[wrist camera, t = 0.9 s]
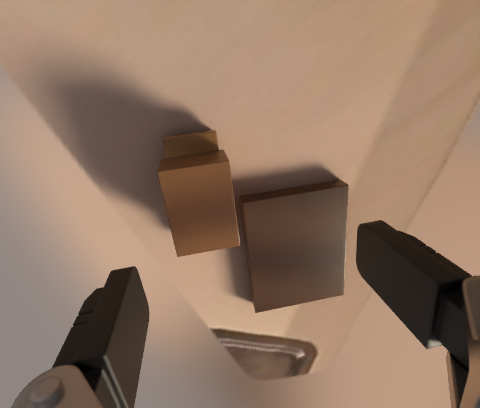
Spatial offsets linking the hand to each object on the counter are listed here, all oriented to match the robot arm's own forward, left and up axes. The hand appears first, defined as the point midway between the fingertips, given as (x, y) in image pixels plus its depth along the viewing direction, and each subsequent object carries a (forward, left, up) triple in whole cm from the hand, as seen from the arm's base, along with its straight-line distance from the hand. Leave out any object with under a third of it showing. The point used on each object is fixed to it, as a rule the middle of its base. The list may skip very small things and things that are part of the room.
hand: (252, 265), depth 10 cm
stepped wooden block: (+3, -2, -16) cm, 17 cm away
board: (+11, +7, -16) cm, 21 cm away
